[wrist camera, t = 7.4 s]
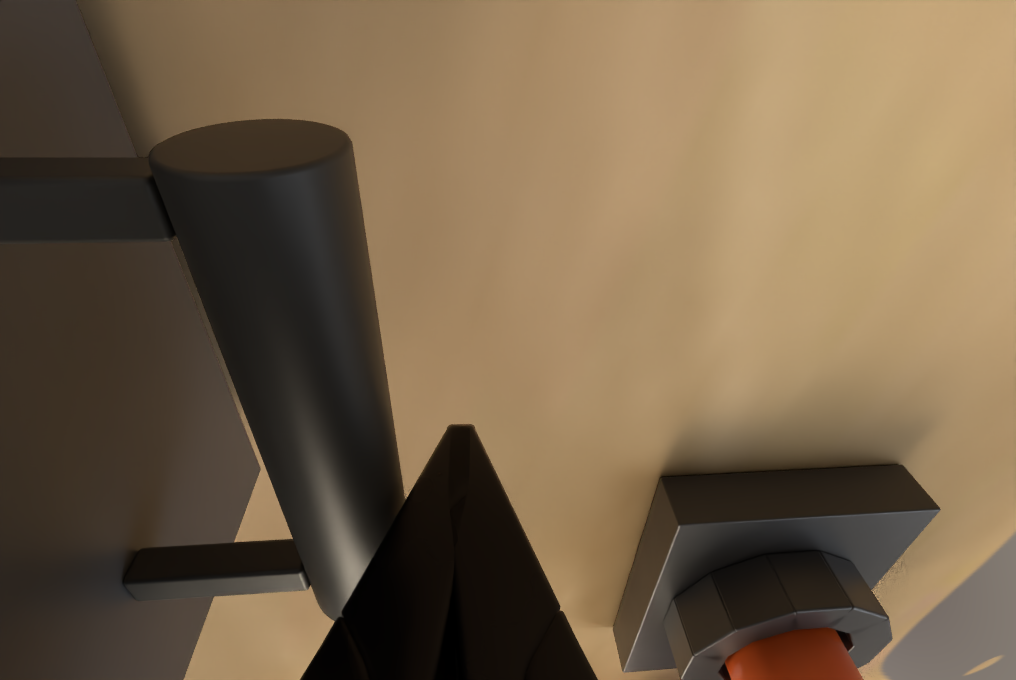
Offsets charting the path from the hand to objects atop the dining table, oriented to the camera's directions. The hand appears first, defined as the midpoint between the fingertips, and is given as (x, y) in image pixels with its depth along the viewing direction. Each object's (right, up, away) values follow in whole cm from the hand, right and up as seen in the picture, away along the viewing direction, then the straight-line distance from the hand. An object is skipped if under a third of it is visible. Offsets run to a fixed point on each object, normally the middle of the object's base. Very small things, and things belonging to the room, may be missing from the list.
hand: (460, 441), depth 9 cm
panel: (+9, -6, +11) cm, 16 cm away
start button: (+10, -8, +8) cm, 15 cm away
